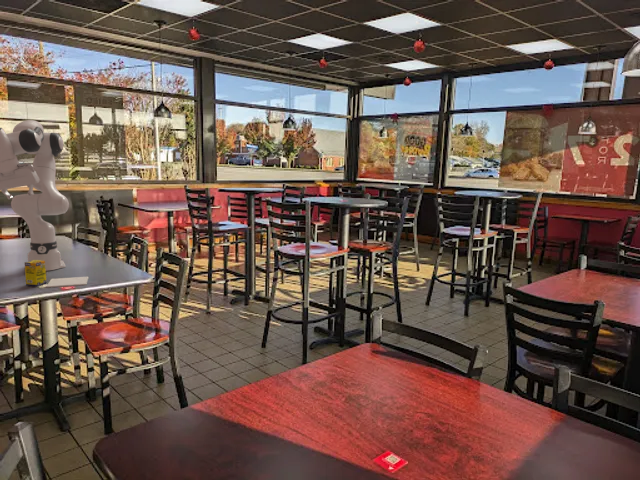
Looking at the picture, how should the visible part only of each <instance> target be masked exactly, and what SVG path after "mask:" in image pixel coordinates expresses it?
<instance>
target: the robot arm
mask: <svg viewBox="0 0 640 480" xmlns="http://www.w3.org/2000/svg"><path fill="white" fill-rule="evenodd" d="M44 130H45V128H44V126H43V125H42V124H41V123H40V122H39V121H38V120H34V119H27V120H23V121H21V122H19V123H17V124H16V125H15V126H14V127H13V129H12V132H9V133H6V132H5V130H4V129H3V128H2V127H0V191H1V193H2V194H3V195H5V196H6V198H7V199H8V200H11V202H10V206H11V210H12V211H13V212H14V213H15V214H16V215H17V216H20V217H21V218H22V220H24V222H25V223H26V225H27V226H28V229H29V235H30V236H29V237H30V245H29V247H30V248H29V249H30V251H29V252H28V253H27V262H29V261H33V260H41V261H45V268H46V272H47V271H48V272H49V271H55V270H58V269H64V268H66V263H65V262H64V260H63V258H62V256H61V252H60V251H59V249H58V243H57V240H56V230H55V226H54V225H53V224H52V223H50V222H48V221H45V220H44V219H43V218H42V216H58V215H62V214H63V215H64V214H66V212H68V210H69V208H70V202H69V199H68V198H67V196H65V195H64V194H62V193H61V192H59V191H60V190H58V189H57V186H56V171H57V166H56V159H55V158H56V157H58V156H59V154H60V153H62V151H63V150H64V140H63V137H62V136H61V134H59V133H56V132H45V131H44ZM23 154H24V155H35V156H34V159H33V161H32V163H29V162H25V163H20V162H19V159H18V155H23ZM21 187H27V188H28V191H27V193H22V194H18V195H14V196H13V194H11V193H9V192H8V190H9V189H15V188H21ZM34 189H35V190H36V191H40V192H41V193H34ZM24 270H25V267H24Z"/></svg>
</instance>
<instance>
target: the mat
mask: <svg viewBox="0 0 640 480" xmlns="http://www.w3.org/2000/svg"><path fill="white" fill-rule="evenodd" d="M88 281H89V276H77V277H62V278H60V277H58V278H51V279H50V281H48V283H47V284H46V288H62V287H73V286H75V287H77V286H87V284H88Z"/></svg>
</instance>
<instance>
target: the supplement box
mask: <svg viewBox="0 0 640 480" xmlns="http://www.w3.org/2000/svg"><path fill="white" fill-rule="evenodd" d="M24 268H25V269H24V273H25V274H24V275H25V276H24V277H25V285H26V287H27V286H28V287H39V286H43V285H47V284H48V283H47V271H46V268H45V261H41V260H33V261H29V262H28V261H26V262H24Z"/></svg>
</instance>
